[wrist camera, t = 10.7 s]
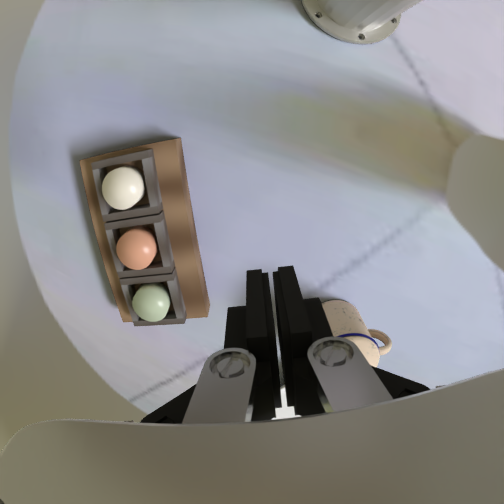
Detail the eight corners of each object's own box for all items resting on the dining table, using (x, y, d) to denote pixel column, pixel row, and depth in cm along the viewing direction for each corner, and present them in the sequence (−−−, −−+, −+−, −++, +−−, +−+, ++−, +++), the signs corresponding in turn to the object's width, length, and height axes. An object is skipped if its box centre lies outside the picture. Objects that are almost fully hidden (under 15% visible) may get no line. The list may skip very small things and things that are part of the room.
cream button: (107, 169, 32) (98, 172, 30) (142, 162, 32) (135, 164, 30) (115, 206, 34) (106, 212, 32) (149, 200, 34) (143, 206, 32)
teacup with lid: (298, 350, 46) (309, 408, 36) (302, 298, 43) (318, 354, 32) (372, 344, 46) (397, 396, 36) (383, 294, 43) (417, 344, 32)
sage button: (134, 282, 38) (127, 291, 35) (167, 279, 37) (162, 288, 35) (143, 312, 39) (138, 322, 37) (175, 309, 39) (171, 320, 37)
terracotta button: (119, 228, 35) (112, 235, 33) (154, 223, 35) (148, 230, 33) (128, 262, 37) (122, 271, 34) (162, 259, 36) (157, 267, 34)
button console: (90, 157, 35) (71, 162, 30) (180, 137, 35) (170, 140, 30) (129, 310, 43) (118, 330, 39) (210, 304, 43) (206, 326, 38)
